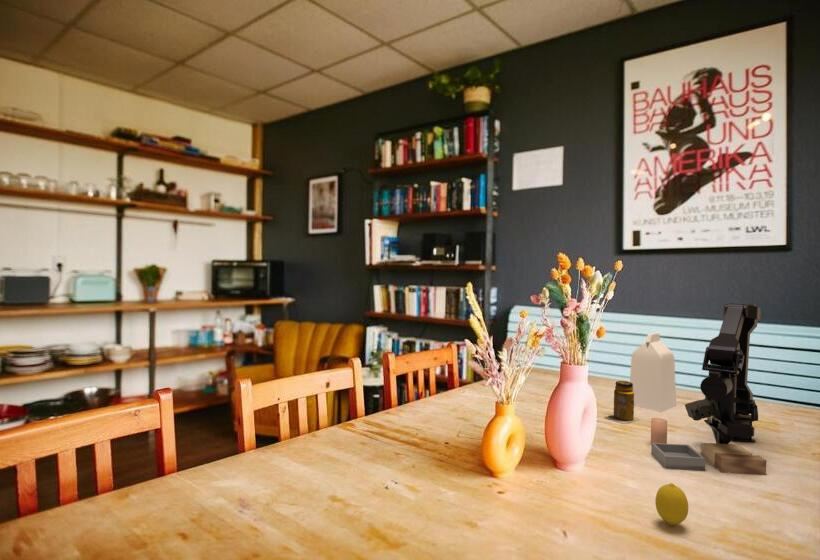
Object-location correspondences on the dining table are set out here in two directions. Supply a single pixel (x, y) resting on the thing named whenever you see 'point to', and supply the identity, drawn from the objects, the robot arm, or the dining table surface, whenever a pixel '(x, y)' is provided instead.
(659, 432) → the dowel
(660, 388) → the milk
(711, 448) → the light wood rectangular prism
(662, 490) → the lemon
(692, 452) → the tray
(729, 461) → the block
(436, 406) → the dining table surface
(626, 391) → the condiment
